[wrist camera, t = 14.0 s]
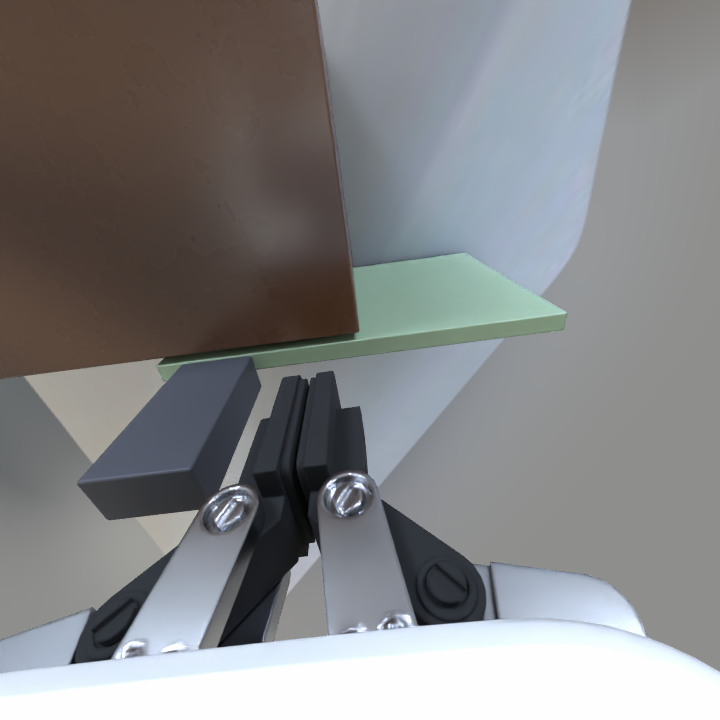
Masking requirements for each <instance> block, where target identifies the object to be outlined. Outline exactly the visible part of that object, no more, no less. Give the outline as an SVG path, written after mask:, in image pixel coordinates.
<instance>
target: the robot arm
mask: <svg viewBox="0 0 720 720" xmlns="http://www.w3.org/2000/svg"><path fill="white" fill-rule="evenodd" d="M315 539H316V541H317V544H318V547H319V550H320V553H321V558H322V570H323V582H324V594H325V607H326V619H327V631H328V636H321V637H312V638H303V639H293V640H283V641H274V639H275V635H276V631H277V627H278V624H279V620H280V616H281V613H282V609H283V605H284V601H285V598H286V594H287V590H288V586H289V583H290V576H291V571H290V569H291V568H292V567H293V566H294V565H295V564H296V563H297V562H298V558H299V557H304V556H308V549H309V543H314V542H315ZM0 720H720V672H719V671H717V670H715V669H713V668H712V667H710V666H708V665H707V664H705V663H703V662H701V661H699V660H698V659H696V658H694V657H692V656H690V655H687V654H685V653H683V652H681V651H679V650H677V649H674V648H672V647H670V646H668V645H666V644H663V643H660V642H658V641H655V640H652V639H649V638H648V636H647V633H646V631H645V629H644V627H643V625H642V623H641V621H640V618H639V616H638V615H637V613H636V611H635V610H634V608H633V607H632V605H631V604H630V602H629V601H628V600H627V599H626V598H625V597H624V596H623V595H622V594H621V593H620V592H619V591H618V590H617V589H616V588H615V587H613V586H611V585H610V584H608V583H606V582H605V581H603V580H602V579H599V578H596V577H593V576H589V575H586V574H579V573H572V572H564V571H556V570H548V569H541V568H533V567H526V566H518V565H511V564H504V563H495V562H490V565H489V566H485V565H478V564H472V563H471V562H469V561H468V560H467V559H466V558H465V557H464V556H462V555H461V554H460V553H458V552H457V551H455V550H454V549H452V548H451V547H449V546H448V545H447V544H445V543H444V542H442V541H441V540H439V539H438V538H436V537H435V536H434V535H432V534H431V533H429V532H428V531H426V530H425V529H423V528H422V527H421V526H419V525H417V524H416V523H415V522H413V521H412V520H410V519H409V518H407V517H406V516H405V515H403V514H402V513H400V512H399V511H397V510H396V509H395V508H393V507H392V506H390V505H389V504H387V503H386V502H384V501H383V500H381V498H380V494H379V491H378V487H377V485H376V483H375V481H374V480H373V479H372V478H371V477H370V476H369V475H368V469H367V456H366V445H365V436H364V428H363V422H362V415H361V410H360V406H359V407H352V408H344V409H341V405H340V400H339V395H338V390H337V385H336V380H335V375H334V372H333V371H328V372H321V373H317V374H316V378H311V380H310V386H309V384H308V380H307V379H302V378H301V376H300V375H298V376H290V377H284V378H283V379H282V381H281V384H280V387H279V391H278V394H277V397H276V400H275V403H274V406H273V409H272V413H271V416H270V418H266V419H262V420H261V422H260V424H259V426H258V429H257V432H256V435H255V438H254V440H253V443H252V446H251V449H250V452H249V455H248V457H247V460H246V463H245V466H244V469H243V471H242V474H241V477H240V480H239V483H238V484H234V485H230V486H227V487H225V488H222V489H221V490H219V491H218V492H216V493H214V494H213V495H212V496H211V497H210V498H209V499H208V500H206V502H205V503H204V504H203V506H202V507H201V508H200V510H199V511H198V513H197V515H196V516H195V518H194V520H193V522H192V523H191V525H190V527H189V528H188V530H187V532H186V533H185V535H184V537H183V538H182V540H181V542H180V543H179V545H178V546H177V547H175V548H174V549H173V550H171V551H170V552H169V553H168V554H166V555H165V556H164V557H162V558H161V559H160V560H159V561H157V562H156V563H155V564H153V565H152V566H151V567H150V568H148V569H147V570H146V571H144V572H143V573H142V574H141V575H139V576H138V577H137V578H135V579H134V580H133V581H132V582H130V583H129V584H128V585H126V586H125V587H124V588H123V589H121V590H120V591H119V592H118V593H116V594H115V595H114V596H112V597H111V598H110V599H109V600H108V601H107V602H106V603H104V605H102V606H101V607H100V608H99V609H98V610H97V611H96V610H95V609H94V608H89V609H86V610H83V611H80V612H77V613H75V614H72V615H69V616H66V617H63V618H61V619H58V620H55V621H52V622H49V623H46V624H43V625H41V626H38V627H35V628H32V629H29V630H27V631H24V632H21V633H18V634H15V635H12V636H10V637H7V638H4V639H1V640H0Z"/></svg>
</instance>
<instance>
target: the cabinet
mask: <svg viewBox="0 0 720 720" xmlns="http://www.w3.org/2000/svg"><path fill="white" fill-rule="evenodd" d="M359 330H360V329H359V319H358V309H357V299H356V289H355V279H354V270H353V260H352V252H351V245H350V237H349V230H348V222H347V214H346V207H345V199H344V192H343V184H342V176H341V169H340V161H339V154H338V146H337V138H336V131H335V123H334V116H333V108H332V100H331V93H330V85H329V78H328V70H327V62H326V55H325V48H324V41H323V35H322V28H321V21H320V15H319V8H318V1H317V0H0V379H4V378H11V377H20V376H27V375H35V374H43V373H50V372H58V371H66V370H73V369H81V368H89V367H96V366H104V365H112V364H119V363H127V362H135V361H142V360H150V359H158V358H165V357H173V356H181V355H188V354H196V353H204V352H211V351H219V350H227V349H234V348H242V347H250V346H257V345H265V344H273V343H280V342H288V341H296V340H303V339H311V338H319V337H326V336H334V335H342V334H349V333H357V332H359Z"/></svg>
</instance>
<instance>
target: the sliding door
mask: <svg viewBox="0 0 720 720" xmlns="http://www.w3.org/2000/svg"><path fill="white" fill-rule="evenodd" d="M353 270H354V279H355V289H356V299H357V309H358V319H359V329H360V330H359V332H357V333H349V334H342V335H334V336H326V337H319V338H311V339H303V340H296V341H288V342H280V343H273V344H265V345H257V346H250V347H242V348H234V349H227V350H219V351H211V352H204V353H196V354H188V355H181V356H173V357H165V358H164V359H163V360H162V361H161V362H160V363H159V364H158V365H157V366H156V367H157V369H158V371H159V373H160V375H161V377H162V379H163V381H167V382H166V383H165V384H164V385H163V386H162V388H161V389H160V390H159V391H158V392H157V393H156V394H155V395H154V397H153V398H152V399H151V400H150V401H149V402H148V403H147V404H146V406H145V407H144V408H143V409H142V410H141V411H140V412H139V413H138V414H137V416H136V417H135V418H134V419H133V420H132V421H131V422H130V423H129V425H128V426H127V427H126V428H125V429H124V430H123V431H122V432H121V434H120V435H119V436H118V437H117V438H116V439H115V440H114V441H113V443H112V444H111V445H110V446H109V447H108V448H107V449H106V450H105V452H104V453H103V454H102V455H101V456H100V457H99V458H98V459H97V460H96V462H95V463H94V464H93V465H92V466H91V467H90V468H89V469H88V471H87V472H86V473H85V474H84V475H83V476H82V477H81V479H80V480H79V481H78V482H77V485H78V486H79V487H80V488H81V490H82V491H83V492H84V493H85V494H86V495H87V497H88V498H89V499H90V500H91V501H92V502H93V504H94V505H95V506H96V507H97V508H98V509H99V511H100V512H101V513H102V514H103V515H104V517H105V518H106V519H108V520H116V519H124V518H132V517H141V516H149V515H158V514H166V513H175V512H183V511H192V510H200V508H201V507H202V506H203V504H204V503H205V502H206V500H208V499H209V498H210V497H211V496H212V495H213V494H214V493H216V492H218V491H219V489H220V487H221V484H222V482H223V479H224V477H225V474H226V472H227V469H228V467H229V465H230V462H231V460H232V457H233V455H234V452H235V450H236V447H237V445H238V442H239V440H240V438H241V435H242V433H243V430H244V428H245V425H246V423H247V420H248V418H249V415H250V413H251V411H252V408H253V406H254V403H255V401H256V398H257V396H258V393H259V391H260V388H261V384H260V381H259V378H258V375H257V372H256V369H264V368H272V367H280V366H287V365H295V364H303V363H311V362H318V361H326V360H334V359H342V358H350V357H357V356H365V355H373V354H381V353H389V352H396V351H404V350H412V349H420V348H427V347H435V346H443V345H451V344H459V343H466V342H474V341H482V340H490V339H497V338H505V337H512V336H520V335H528V334H536V333H544V332H551V331H560V330H564V327H565V323H566V318H567V313H566V312H565V311H563V310H561V309H560V308H558V307H556V306H555V305H553V304H551V303H550V302H548V301H546V300H544V299H543V298H541V297H539V296H538V295H536V294H534V293H533V292H531V291H529V290H527V289H526V288H524V287H522V286H521V285H519V284H517V283H516V282H514V281H512V280H510V279H509V278H507V277H505V276H504V275H502V274H500V273H499V272H497V271H495V270H493V269H492V268H490V267H488V266H487V265H485V264H483V263H482V262H480V261H478V260H476V259H475V258H473V257H471V256H470V255H468V254H466V253H458V254H451V255H444V256H436V257H429V258H421V259H414V260H407V261H399V262H392V263H384V264H377V265H370V266H362V267H355V268H353Z"/></svg>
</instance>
